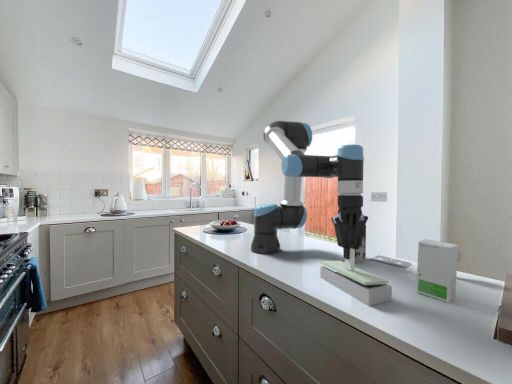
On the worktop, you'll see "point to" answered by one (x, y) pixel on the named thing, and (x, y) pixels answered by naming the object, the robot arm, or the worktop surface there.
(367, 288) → the white u-shaped channel
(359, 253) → the coffee box
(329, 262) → the cover
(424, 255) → the skincare box
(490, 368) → the worktop surface
